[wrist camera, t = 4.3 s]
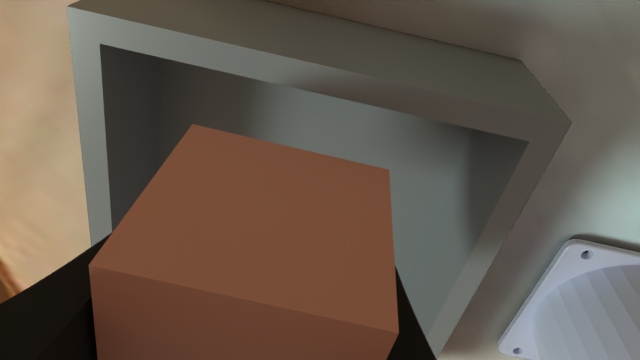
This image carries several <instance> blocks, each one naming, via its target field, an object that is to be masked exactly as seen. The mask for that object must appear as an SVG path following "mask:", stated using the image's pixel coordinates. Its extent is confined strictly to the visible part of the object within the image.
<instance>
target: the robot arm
mask: <svg viewBox="0 0 640 360" xmlns="http://www.w3.org/2000/svg"><path fill="white" fill-rule="evenodd" d="M112 233H113V232H111V233H110V234H109V235H107V236H106V237H105V238H103V239H102V240H101V241H99V242H98V243H96V244H95V245H93V246H92V247H91V248H89V249H88V250H86V251H85V252H83V253H82V254H80V255H79V256H78V257H76V258H75V259H73V260H72V261H70V262H69V263H67V264H66V265H64V266H63V267H61V268H59V269H58V270H56V271H55V272H53V273H51V274H50V275H48V276H47V277H45V278H44V279H42V280H40V281H39V282H37V283H36V284H34V285H32V286H31V287H29V288H27V289H25V290H24V291H22V292H20V293H19V294H17V295H15V296H13V297H12V298H10V299H8V300H6V301H4V302H2V303H1V304H0V360H98V358H97V348H96V337H95V327H94V316H93V306H92V296H91V285H90V275H89V264H90V263H91V261H92V260H93V259H94V257H95V256H96V254H97V253H98V252H99V250H100V249H101V248H102V246H103V245H104V244H105V242H106V241H107V240H108V238H109V237H110V235H111V234H112ZM584 251H588V252H586V253H583V252H584ZM395 276H396V293H397V309H398V326H399V334H398V336H397V338H396V340H395V342H394V345H393V347H392V349H391V351H390V353H389V355H388V357H387V359H386V360H437V359H436V357H435V355H434V353H433V351H432V349H431V347H430V345H429V343H428V341H427V339H426V337H425V335H424V333H423V331H422V328H421V326H420V324H419V322H418V320H417V318H416V315H415V313H414V311H413V308H412V306H411V304H410V301H409V299H408V296H407V294H406V291H405V289H404V286H403V284H402V281H401V279H400V276H399V273H398V270H397V268H396V266H395ZM497 346H498V349H499V351H500V352H501V353H503V354H506V355H510V356H515V357H520V358H525V359H530V360H640V252H636V251H631V250H627V249H622V248H618V247H613V246H608V245H604V244H599V243H595V242H590V241H586V240H581V239H571V240H568V241H567V242H565V243H564V244H563V245H562V247H561V248H560V250H559V251H558V253H557V254H556V256H555V257H554V259H553V260H552V262H551V263H550V265H549V266H548V268H547V269H546V271H545V272H544V274H543V275H542V277H541V278H540V280H539V281H538V282H537V284H536V285H535V287H534V288H533V290H532V291H531V293H530V294H529V296H528V297H527V299H526V300H525V302H524V303H523V305H522V306H521V308H520V309H519V311H518V312H517V314H516V315H515V317H514V318H513V320H512V321H511V323H510V324H509V326H508V327H507V329H506V330H505V332H504V333H503V335H502V336H501V338H500V339H499V341H498V343H497Z"/></svg>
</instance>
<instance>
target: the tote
mask: <svg viewBox="0 0 640 360" xmlns="http://www.w3.org/2000/svg"><path fill="white" fill-rule="evenodd" d="M67 15H68V25H69V35H70V44H71V54H72V64H73V73H74V83H75V93H76V103H77V112H78V122H79V132H80V141H81V151H82V161H83V171H84V180H85V190H86V200H87V209H88V219H89V229H90V239H91V247H92V246H93V245H95V244H96V243H98V242H99V241H101V240H102V239H103V238H105V237H106V236H107V235H109V234H110V233H111V232H113V231H114V230H115V229H116V227H117V226H118V225H119V223H120V222H121V221H122V219H123V218H124V216H125V215H126V214H127V212H128V211H129V210H130V208H131V207H132V206H133V204H134V203H135V202H136V200H137V199H138V197H139V196H140V195H141V193H142V192H143V191H144V189H145V188H146V187H147V185H148V184H149V183H150V181H151V180H152V178H153V177H154V176H155V174H156V173H157V172H158V170H159V169H160V168H161V166H162V165H163V163H164V162H165V161H166V159H167V158H168V157H169V155H170V154H171V153H172V151H173V150H174V149H175V147H176V146H177V144H178V143H179V142H180V140H181V139H182V138H183V136H184V135H185V134H186V132H187V131H188V130H189V128H190V127H191V125H192V124H194V125H199V126H203V127H207V128H212V129H216V130H220V131H225V132H229V133H233V134H237V135H242V136H246V137H250V138H255V139H259V140H263V141H268V142H272V143H276V144H281V145H285V146H289V147H293V148H298V149H302V150H306V151H311V152H315V153H319V154H324V155H328V156H332V157H337V158H341V159H345V160H349V161H354V162H358V163H362V164H367V165H371V166H375V167H380V168H384V169H388V170H389V177H390V194H391V210H392V227H393V243H394V260H395V266H396V268H397V270H398V273H399V276H400V279H401V281H402V284H403V286H404V289H405V291H406V294H407V296H408V299H409V301H410V304H411V306H412V308H413V311H414V313H415V315H416V318H417V320H418V322H419V324H420V326H421V328H422V331H423V333H424V335H425V337H426V339H427V341H428V343H429V345H430V347H431V349H432V351H433V353H434V355H435V357H436V359H437V358H438V356H439V355H440V353H441V351H442V349H443V348H444V346H445V344H446V342H447V341H448V339H449V337H450V335H451V334H452V332H453V330H454V328H455V327H456V325H457V323H458V321H459V320H460V318H461V316H462V314H463V313H464V311H465V309H466V307H467V306H468V304H469V302H470V300H471V299H472V297H473V295H474V293H475V292H476V290H477V288H478V286H479V285H480V283H481V281H482V279H483V278H484V276H485V274H486V272H487V271H488V269H489V267H490V265H491V264H492V262H493V260H494V258H495V257H496V255H497V253H498V251H499V250H500V248H501V246H502V244H503V243H504V241H505V239H506V237H507V236H508V234H509V232H510V230H511V229H512V227H513V225H514V223H515V222H516V220H517V218H518V217H519V215H520V213H521V211H522V210H523V208H524V206H525V204H526V203H527V201H528V199H529V197H530V196H531V194H532V192H533V190H534V189H535V187H536V185H537V183H538V182H539V180H540V178H541V176H542V175H543V173H544V171H545V169H546V168H547V166H548V164H549V162H550V161H551V159H552V157H553V155H554V154H555V152H556V150H557V148H558V147H559V145H560V143H561V141H562V140H563V138H564V136H565V134H566V133H567V131H568V129H569V127H570V126H571V124H572V122H571V121H570V120H569V118H568V117H567V116H566V115H565V113H564V112H563V111H562V110H561V109H560V107H559V106H558V105H557V104H556V102H555V101H554V100H553V99H552V98H551V96H550V95H549V94H548V93H547V91H546V90H545V89H544V88H543V87H542V85H541V84H540V83H539V82H538V80H537V79H536V78H535V77H534V76H533V74H532V73H531V72H530V71H529V69H528V68H527V67H526V66H525V65H524V63H523V62H522V61H521V60H516V59H512V58H508V57H503V56H499V55H495V54H491V53H486V52H482V51H478V50H474V49H469V48H465V47H461V46H457V45H452V44H448V43H444V42H439V41H435V40H431V39H427V38H422V37H418V36H414V35H410V34H405V33H401V32H397V31H393V30H388V29H384V28H380V27H376V26H371V25H367V24H363V23H358V22H354V21H350V20H346V19H341V18H337V17H333V16H329V15H324V14H320V13H316V12H312V11H307V10H303V9H299V8H294V7H290V6H286V5H282V4H277V3H273V2H269V1H265V0H80V1H78V2H75V3H73V4H71V5H68V6H67Z"/></svg>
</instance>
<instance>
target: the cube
mask: <svg viewBox="0 0 640 360" xmlns="http://www.w3.org/2000/svg"><path fill="white" fill-rule="evenodd" d="M89 275H90V285H91V296H92V306H93V316H94V327H95V337H96V348H97V358H98V360H386V359H387V357H388V355H389V353H390V351H391V349H392V347H393V345H394V342H395V340H396V338H397V336H398V334H399V326H398V309H397V293H396V276H395V260H394V243H393V227H392V210H391V194H390V177H389V170H388V169H384V168H380V167H375V166H371V165H367V164H362V163H358V162H354V161H349V160H345V159H341V158H337V157H332V156H328V155H324V154H319V153H315V152H311V151H306V150H302V149H298V148H293V147H289V146H285V145H281V144H276V143H272V142H268V141H263V140H259V139H255V138H250V137H246V136H242V135H237V134H233V133H229V132H225V131H220V130H216V129H212V128H207V127H203V126H199V125H194V124H192V125H191V127H190V128H189V130H188V131H187V132H186V134H185V135H184V136H183V138H182V139H181V140H180V142H179V143H178V144H177V146H176V147H175V149H174V150H173V151H172V153H171V154H170V155H169V157H168V158H167V159H166V161H165V162H164V163H163V165H162V166H161V168H160V169H159V170H158V172H157V173H156V174H155V176H154V177H153V178H152V180H151V181H150V183H149V184H148V185H147V187H146V188H145V189H144V191H143V192H142V193H141V195H140V196H139V197H138V199H137V200H136V202H135V203H134V204H133V206H132V207H131V208H130V210H129V211H128V212H127V214H126V215H125V216H124V218H123V219H122V221H121V222H120V223H119V225H118V226H117V227H116V229H115V230H114V231H113V233H112V234H111V235H110V237H109V238H108V240H107V241H106V242H105V244H104V245H103V246H102V248H101V249H100V250H99V252H98V253H97V254H96V256H95V257H94V259H93V260H92V261H91V263H90V264H89Z"/></svg>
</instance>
